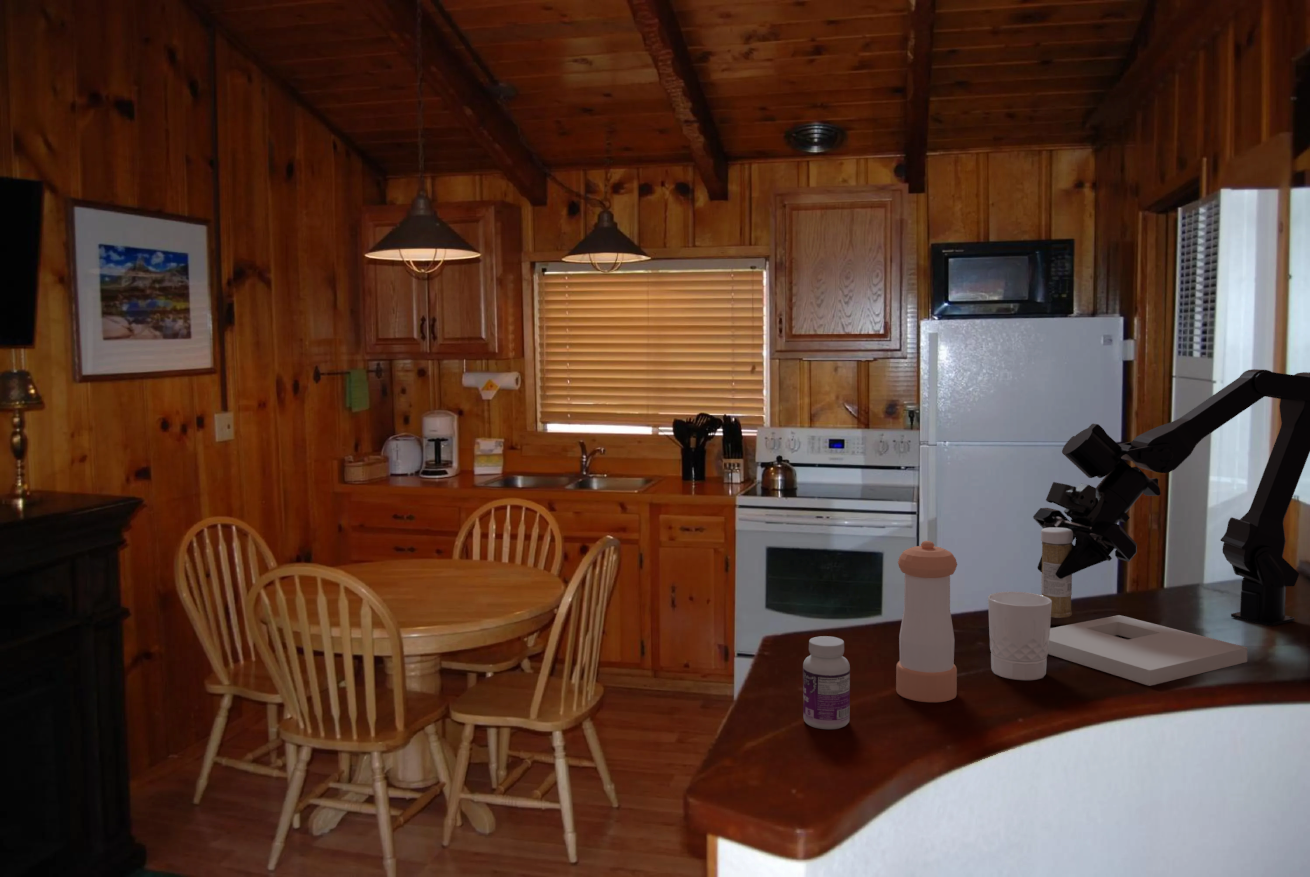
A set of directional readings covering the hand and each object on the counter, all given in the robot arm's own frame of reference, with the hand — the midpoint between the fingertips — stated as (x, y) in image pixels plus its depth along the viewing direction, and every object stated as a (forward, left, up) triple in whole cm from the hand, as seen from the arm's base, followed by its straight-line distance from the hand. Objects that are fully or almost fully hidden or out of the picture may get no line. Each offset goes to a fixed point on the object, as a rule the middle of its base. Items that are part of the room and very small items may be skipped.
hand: (1048, 573), depth 157 cm
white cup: (+22, +14, -8) cm, 27 cm away
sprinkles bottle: (-1, 0, -7) cm, 7 cm away
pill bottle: (+55, +16, -8) cm, 58 cm away
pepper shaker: (+38, +14, -8) cm, 41 cm away
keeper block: (+2, +16, -8) cm, 18 cm away
